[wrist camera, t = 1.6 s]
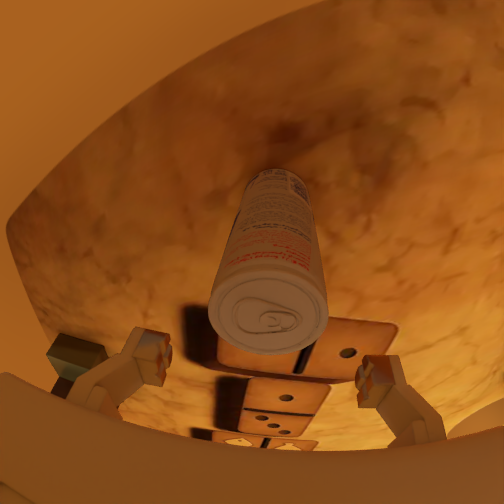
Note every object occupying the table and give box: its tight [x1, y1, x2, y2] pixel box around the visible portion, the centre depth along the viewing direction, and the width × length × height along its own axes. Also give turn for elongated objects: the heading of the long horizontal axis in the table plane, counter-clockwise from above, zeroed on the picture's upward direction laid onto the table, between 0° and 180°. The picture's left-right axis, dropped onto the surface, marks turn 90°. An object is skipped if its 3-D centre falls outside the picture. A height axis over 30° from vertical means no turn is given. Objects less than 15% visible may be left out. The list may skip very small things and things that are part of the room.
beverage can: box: [208, 169, 329, 355], centre depth 20 cm, size 6×6×15 cm
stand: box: [46, 333, 119, 409], centre depth 40 cm, size 14×9×11 cm, turn 176°
